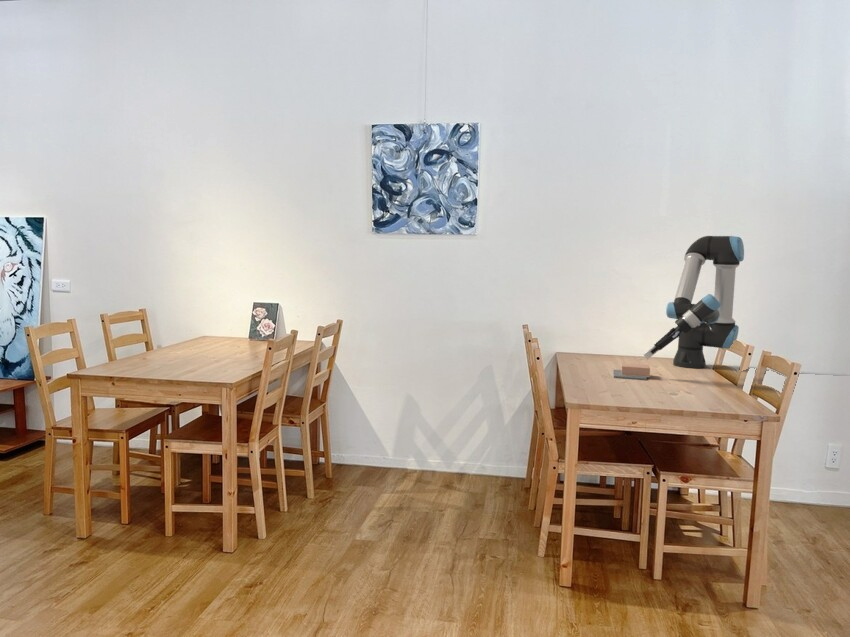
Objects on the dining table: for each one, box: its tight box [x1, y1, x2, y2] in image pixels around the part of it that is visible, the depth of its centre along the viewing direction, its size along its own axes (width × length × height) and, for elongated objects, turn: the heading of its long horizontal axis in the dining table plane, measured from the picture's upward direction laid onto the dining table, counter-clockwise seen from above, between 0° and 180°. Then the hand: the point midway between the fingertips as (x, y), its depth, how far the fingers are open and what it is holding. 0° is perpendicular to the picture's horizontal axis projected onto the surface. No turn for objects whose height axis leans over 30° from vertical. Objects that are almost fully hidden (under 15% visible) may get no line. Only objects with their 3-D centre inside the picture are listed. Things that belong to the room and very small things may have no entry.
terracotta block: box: [620, 362, 651, 378], centre depth 299 cm, size 4×9×12 cm
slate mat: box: [613, 369, 648, 381], centre depth 300 cm, size 14×16×1 cm
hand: (645, 357), depth 297 cm, fingers closed
